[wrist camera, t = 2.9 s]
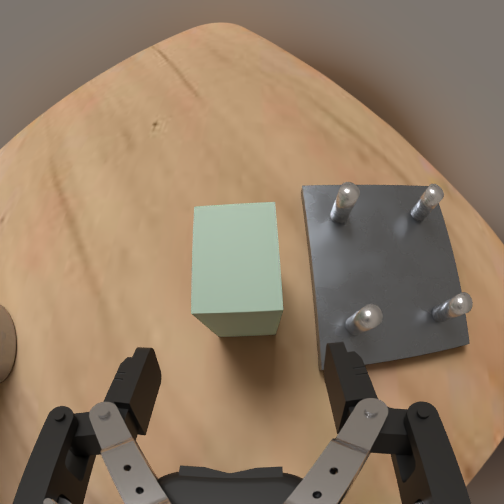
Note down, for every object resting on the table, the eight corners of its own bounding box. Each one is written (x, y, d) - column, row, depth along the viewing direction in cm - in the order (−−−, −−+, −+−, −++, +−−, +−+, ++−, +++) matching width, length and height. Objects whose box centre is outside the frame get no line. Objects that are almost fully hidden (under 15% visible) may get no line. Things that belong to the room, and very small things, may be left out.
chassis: (318, 370, 23) (333, 369, 18) (300, 192, 29) (307, 158, 24) (462, 345, 23) (496, 336, 18) (428, 192, 29) (449, 163, 24)
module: (218, 336, 24) (191, 313, 15) (218, 266, 27) (194, 206, 17) (275, 334, 24) (283, 309, 15) (271, 263, 27) (274, 202, 17)
